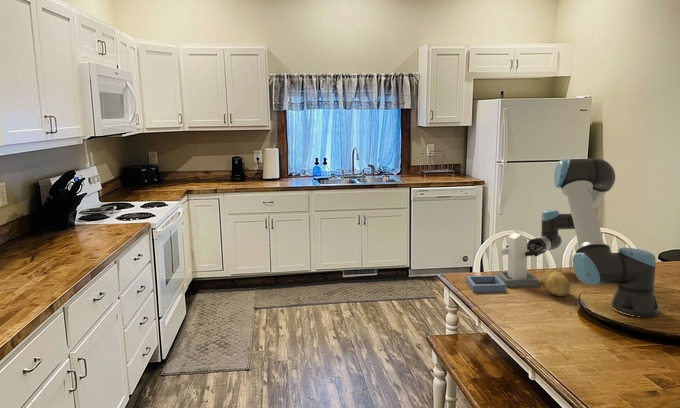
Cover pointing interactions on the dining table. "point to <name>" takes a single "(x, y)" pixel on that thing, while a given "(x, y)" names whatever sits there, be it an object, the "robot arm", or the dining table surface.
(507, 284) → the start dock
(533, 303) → the dining table surface
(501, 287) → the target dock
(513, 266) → the milk
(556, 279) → the potato
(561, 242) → the robot arm
